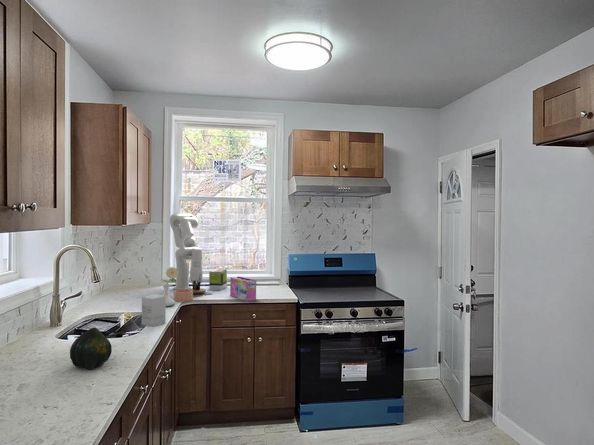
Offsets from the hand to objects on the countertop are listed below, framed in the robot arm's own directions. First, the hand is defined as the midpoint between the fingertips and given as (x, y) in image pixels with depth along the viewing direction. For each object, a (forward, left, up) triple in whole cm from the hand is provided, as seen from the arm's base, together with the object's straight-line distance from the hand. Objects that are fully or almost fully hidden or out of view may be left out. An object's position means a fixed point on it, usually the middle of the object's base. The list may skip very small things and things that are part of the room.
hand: (196, 289), depth 302 cm
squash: (+87, -112, -4) cm, 142 cm away
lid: (0, 0, -2) cm, 2 cm away
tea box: (-7, +26, -4) cm, 27 cm away
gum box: (+34, +16, -4) cm, 37 cm away
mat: (0, 0, -4) cm, 4 cm away
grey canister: (+50, -64, -4) cm, 81 cm away
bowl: (+9, -17, -4) cm, 20 cm away
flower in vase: (+18, -35, -4) cm, 39 cm away
